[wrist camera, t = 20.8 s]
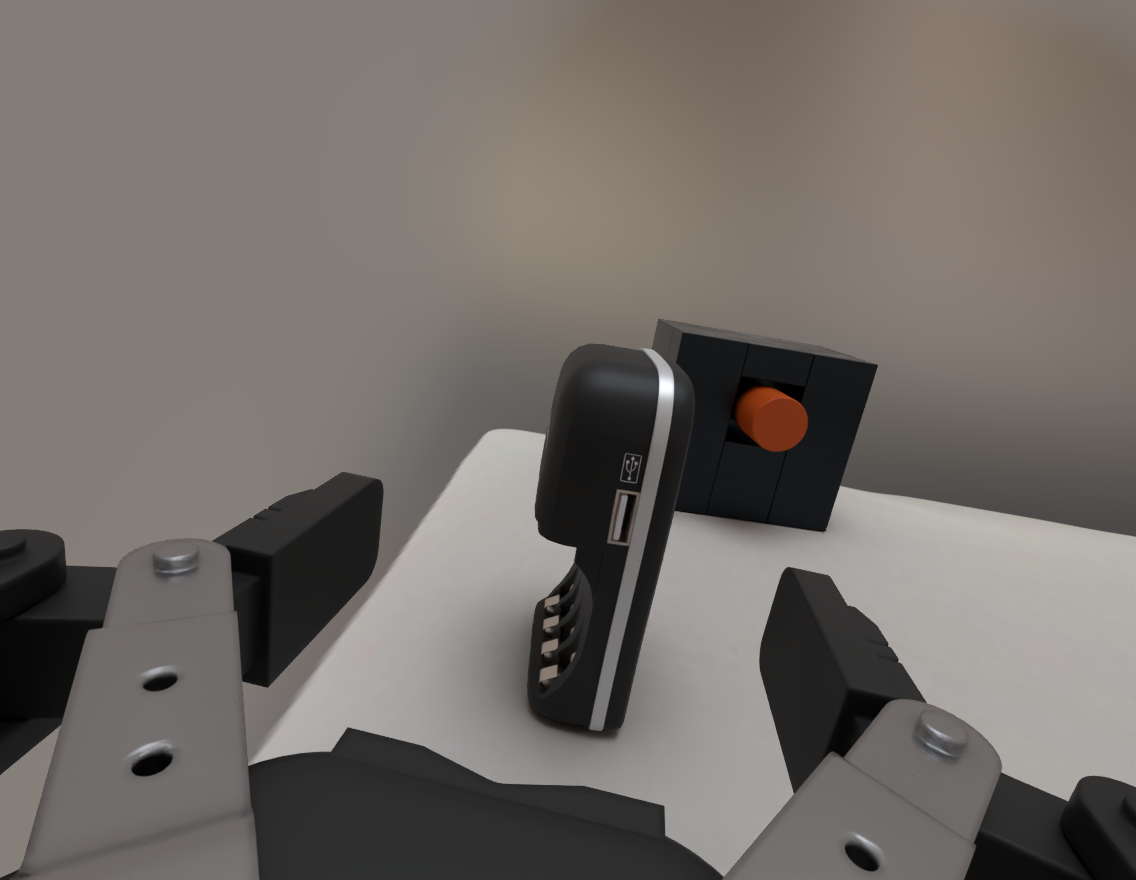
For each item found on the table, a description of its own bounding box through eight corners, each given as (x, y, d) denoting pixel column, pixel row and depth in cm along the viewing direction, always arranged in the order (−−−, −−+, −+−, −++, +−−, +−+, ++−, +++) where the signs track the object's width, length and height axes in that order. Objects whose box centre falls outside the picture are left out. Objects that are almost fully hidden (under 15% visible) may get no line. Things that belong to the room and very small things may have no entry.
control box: (825, 532, 39) (878, 364, 36) (644, 506, 38) (682, 331, 35) (779, 486, 46) (820, 345, 43) (627, 464, 45) (657, 318, 42)
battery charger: (517, 603, 25) (562, 327, 22) (608, 617, 25) (665, 345, 22) (498, 729, 18) (559, 357, 15) (622, 746, 18) (708, 382, 15)
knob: (799, 456, 34) (815, 402, 34) (745, 447, 34) (760, 393, 33) (777, 438, 38) (791, 389, 37) (728, 430, 38) (740, 380, 37)
